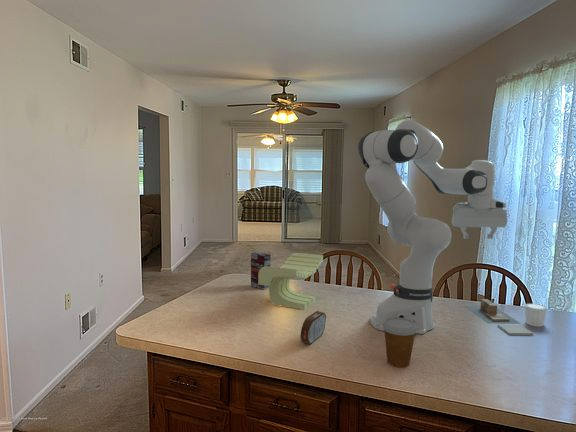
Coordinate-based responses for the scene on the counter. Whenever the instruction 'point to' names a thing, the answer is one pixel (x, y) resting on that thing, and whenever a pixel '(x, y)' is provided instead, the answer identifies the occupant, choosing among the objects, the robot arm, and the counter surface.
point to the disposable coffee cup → (399, 340)
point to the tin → (313, 327)
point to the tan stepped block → (492, 311)
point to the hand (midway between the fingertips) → (477, 238)
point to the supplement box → (258, 267)
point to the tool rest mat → (483, 316)
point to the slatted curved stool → (280, 278)
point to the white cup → (535, 314)
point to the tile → (514, 329)
